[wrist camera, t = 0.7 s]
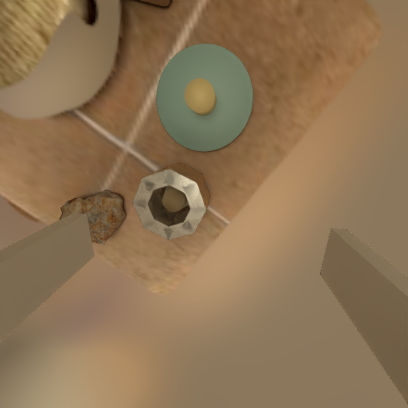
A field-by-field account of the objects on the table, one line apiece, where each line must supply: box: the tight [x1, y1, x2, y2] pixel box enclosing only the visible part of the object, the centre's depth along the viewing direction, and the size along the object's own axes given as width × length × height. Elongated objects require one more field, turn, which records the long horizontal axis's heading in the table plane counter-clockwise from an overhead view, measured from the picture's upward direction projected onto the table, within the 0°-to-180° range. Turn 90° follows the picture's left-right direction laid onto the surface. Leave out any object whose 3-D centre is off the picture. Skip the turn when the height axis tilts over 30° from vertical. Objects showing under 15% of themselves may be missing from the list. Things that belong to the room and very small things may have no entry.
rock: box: [60, 190, 125, 244], centre depth 32 cm, size 9×6×10 cm
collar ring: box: [133, 163, 210, 240], centre depth 29 cm, size 9×9×6 cm
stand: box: [162, 185, 189, 212], centre depth 30 cm, size 4×4×4 cm
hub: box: [157, 44, 253, 151], centre depth 24 cm, size 12×12×6 cm
